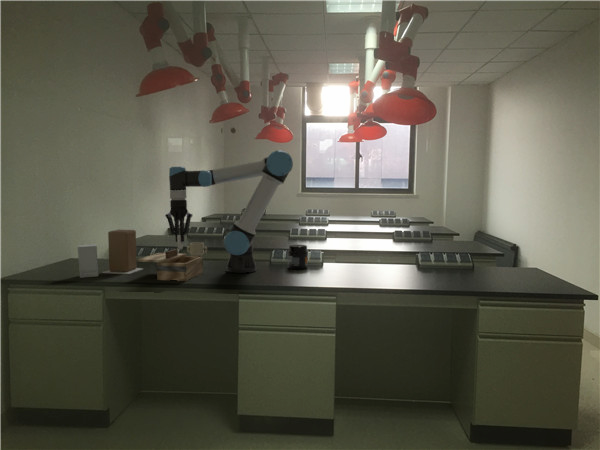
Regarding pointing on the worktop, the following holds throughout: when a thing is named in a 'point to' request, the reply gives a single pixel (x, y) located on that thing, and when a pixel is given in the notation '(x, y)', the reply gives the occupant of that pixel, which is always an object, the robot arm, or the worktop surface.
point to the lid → (162, 257)
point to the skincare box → (88, 260)
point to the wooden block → (122, 250)
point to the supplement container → (297, 257)
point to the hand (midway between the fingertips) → (180, 248)
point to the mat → (124, 272)
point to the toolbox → (180, 269)
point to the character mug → (196, 249)
